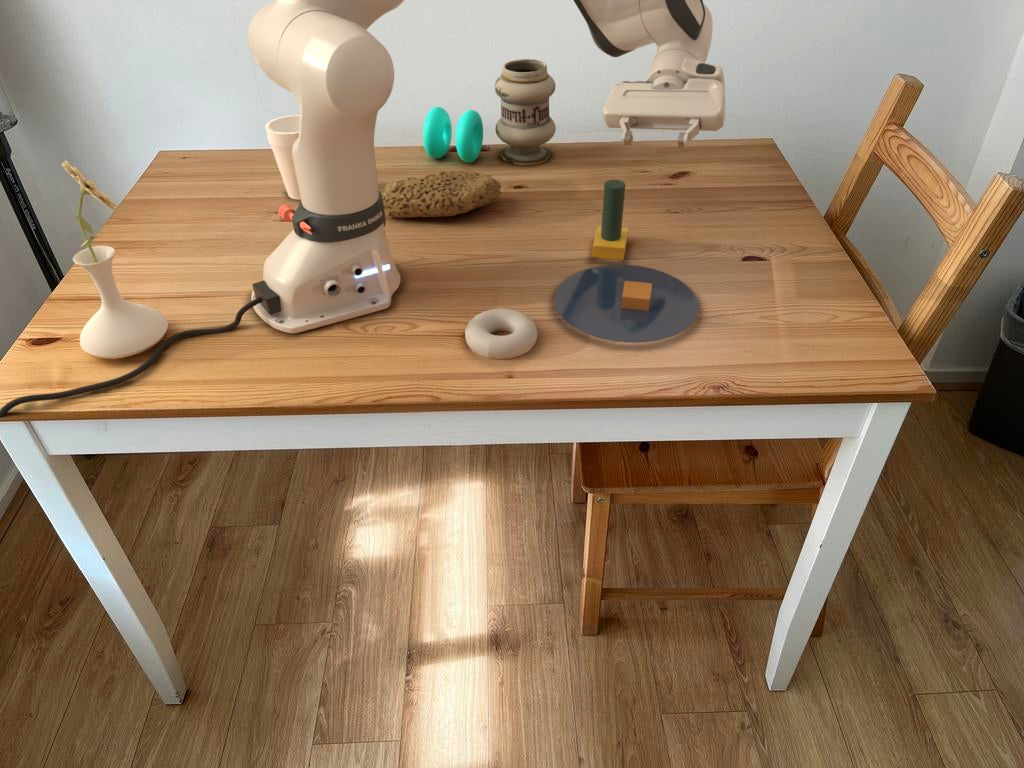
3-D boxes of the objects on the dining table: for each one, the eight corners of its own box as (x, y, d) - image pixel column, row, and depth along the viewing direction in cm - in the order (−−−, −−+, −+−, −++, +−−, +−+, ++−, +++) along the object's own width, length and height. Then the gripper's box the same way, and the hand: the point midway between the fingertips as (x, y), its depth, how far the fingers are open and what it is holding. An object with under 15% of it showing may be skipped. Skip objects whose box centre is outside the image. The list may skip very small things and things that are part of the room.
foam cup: (320, 178, 150) (308, 111, 142) (337, 195, 144) (326, 126, 136) (272, 189, 146) (258, 121, 138) (288, 207, 140) (273, 137, 132)
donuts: (470, 171, 152) (468, 120, 146) (423, 165, 154) (418, 116, 148) (485, 152, 159) (484, 103, 153) (440, 147, 161) (437, 99, 155)
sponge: (385, 233, 134) (495, 216, 130) (373, 188, 131) (485, 169, 127) (405, 212, 146) (507, 196, 141) (395, 171, 142) (499, 153, 138)
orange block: (620, 308, 111) (622, 296, 110) (623, 292, 115) (624, 280, 113) (648, 311, 110) (650, 299, 109) (650, 294, 114) (652, 283, 113)
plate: (624, 367, 102) (625, 361, 101) (525, 300, 115) (525, 295, 114) (727, 312, 112) (729, 306, 111) (625, 256, 125) (626, 251, 124)
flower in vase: (169, 358, 104) (107, 184, 89) (78, 373, 102) (-2, 198, 86) (173, 307, 114) (118, 143, 99) (91, 320, 112) (20, 154, 96)
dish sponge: (622, 265, 123) (629, 194, 115) (591, 262, 124) (596, 192, 116) (626, 244, 128) (633, 175, 121) (596, 241, 129) (601, 173, 121)
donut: (537, 324, 110) (468, 322, 110) (538, 304, 108) (467, 302, 108) (537, 367, 102) (462, 365, 102) (537, 346, 100) (461, 344, 100)
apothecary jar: (484, 159, 156) (481, 67, 145) (517, 140, 164) (517, 52, 153) (533, 172, 151) (534, 78, 140) (565, 152, 159) (569, 61, 147)
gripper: (611, 67, 132) (589, 127, 127) (732, 67, 125) (714, 131, 119) (616, 96, 138) (596, 154, 132) (733, 97, 130) (716, 160, 125)
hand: (653, 143), depth 126 cm, fingers open, 8 cm apart
